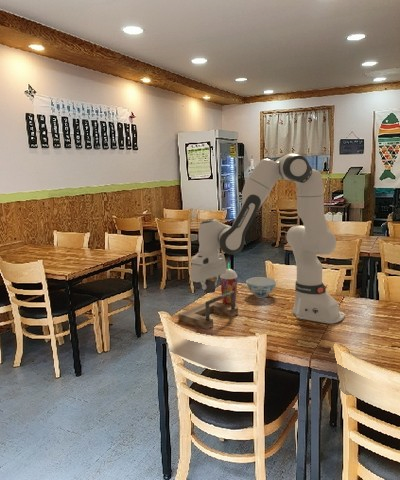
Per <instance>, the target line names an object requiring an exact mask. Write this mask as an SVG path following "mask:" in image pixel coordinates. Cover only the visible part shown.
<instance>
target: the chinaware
mask: <svg viewBox="0 0 400 480" xmlns="http://www.w3.org/2000/svg"><path fill="white" fill-rule="evenodd" d="M245 282H246V287H247V289H248V290H249V291H250V292H251V294H253V295H254V297H255V298H263V299H265V298H267V297H268V296H269V294H272V292H273V291H274V289H275V287H276V285H277V281H276V280H275V278H271V277H265V276H257V277H256V276H255V277H254V276H253V277H250V278H248V279H246V281H245Z"/></svg>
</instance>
